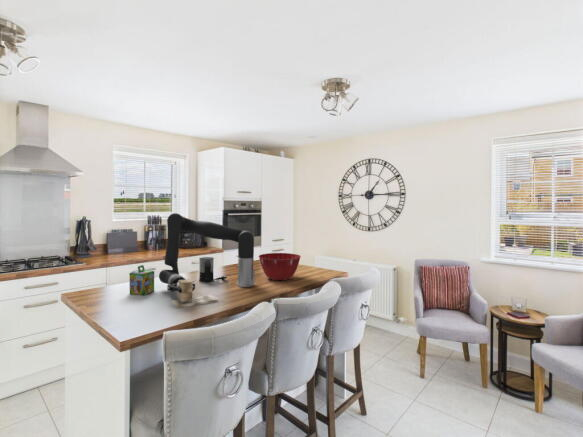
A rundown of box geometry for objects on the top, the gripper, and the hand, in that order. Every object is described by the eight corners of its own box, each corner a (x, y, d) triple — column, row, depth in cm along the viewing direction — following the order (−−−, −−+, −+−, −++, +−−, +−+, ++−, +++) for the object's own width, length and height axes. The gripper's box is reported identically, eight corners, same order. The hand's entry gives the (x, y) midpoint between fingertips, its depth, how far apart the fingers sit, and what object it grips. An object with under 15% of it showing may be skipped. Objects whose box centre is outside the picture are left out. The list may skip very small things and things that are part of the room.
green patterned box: (143, 295, 162) (143, 268, 162) (128, 294, 164) (128, 266, 163) (155, 291, 171) (155, 264, 171) (140, 289, 173) (140, 263, 172)
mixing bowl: (249, 277, 209) (250, 254, 208) (281, 271, 228) (282, 251, 227) (276, 286, 188) (277, 260, 187) (308, 279, 207) (309, 256, 207)
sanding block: (188, 298, 154) (188, 279, 154) (192, 301, 150) (192, 281, 149) (178, 300, 152) (178, 280, 151) (181, 303, 147) (182, 282, 146)
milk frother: (196, 280, 197) (196, 257, 196) (218, 277, 207) (219, 255, 206) (206, 285, 186) (206, 260, 185) (229, 281, 196) (229, 258, 195)
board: (211, 296, 163) (211, 294, 163) (217, 301, 156) (218, 299, 156) (172, 303, 151) (172, 300, 151) (177, 308, 144) (177, 306, 144)
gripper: (162, 276, 158) (171, 284, 144) (190, 273, 166) (201, 280, 152) (162, 291, 158) (171, 300, 144) (190, 287, 166) (201, 295, 152)
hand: (187, 290), depth 148 cm, fingers closed on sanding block, 5 cm apart
